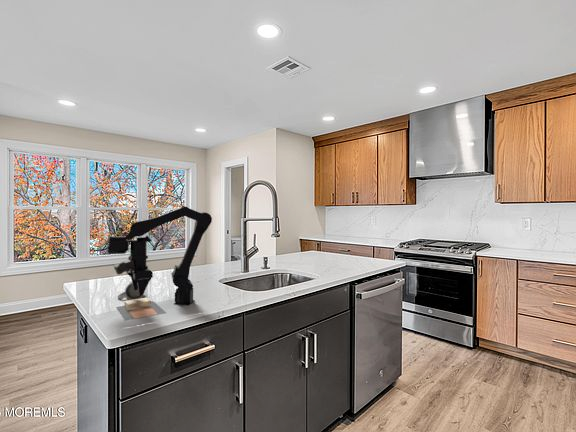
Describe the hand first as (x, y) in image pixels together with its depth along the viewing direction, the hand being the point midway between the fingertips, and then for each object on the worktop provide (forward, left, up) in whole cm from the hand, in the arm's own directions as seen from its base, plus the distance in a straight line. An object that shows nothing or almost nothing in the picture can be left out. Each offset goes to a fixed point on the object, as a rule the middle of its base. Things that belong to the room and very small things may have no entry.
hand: (138, 292), depth 124 cm
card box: (0, 0, -6) cm, 6 cm away
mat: (-3, +3, -6) cm, 8 cm away
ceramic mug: (+10, -11, -6) cm, 17 cm away
